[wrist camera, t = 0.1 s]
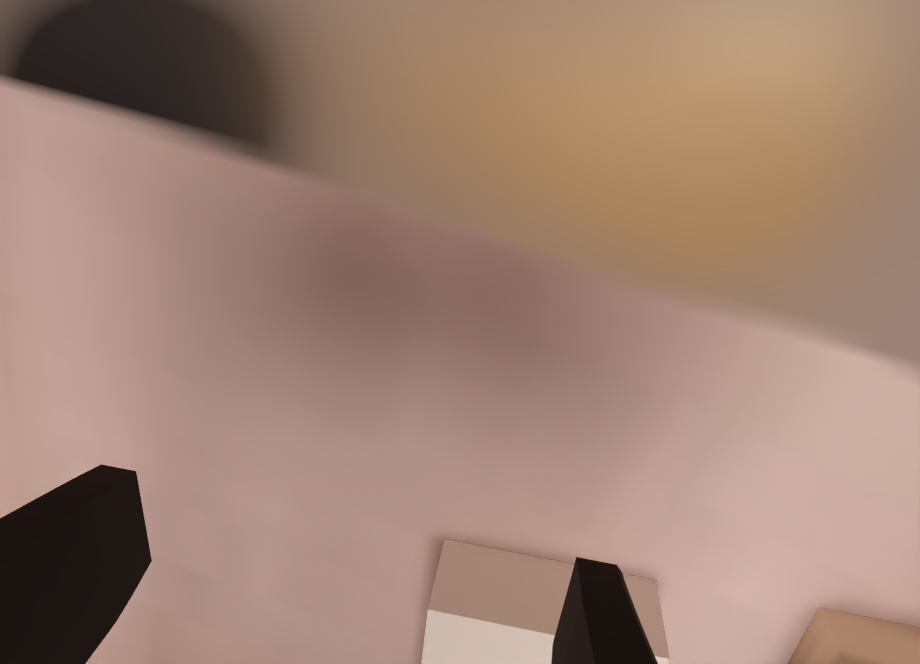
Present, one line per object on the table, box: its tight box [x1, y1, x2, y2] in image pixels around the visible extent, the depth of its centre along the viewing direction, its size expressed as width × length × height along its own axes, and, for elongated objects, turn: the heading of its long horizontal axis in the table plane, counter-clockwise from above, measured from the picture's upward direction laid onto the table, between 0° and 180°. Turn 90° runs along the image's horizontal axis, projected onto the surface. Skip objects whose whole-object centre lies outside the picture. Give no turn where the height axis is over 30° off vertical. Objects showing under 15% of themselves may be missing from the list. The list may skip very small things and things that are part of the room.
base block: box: [421, 539, 670, 664], centre depth 23 cm, size 8×8×4 cm
